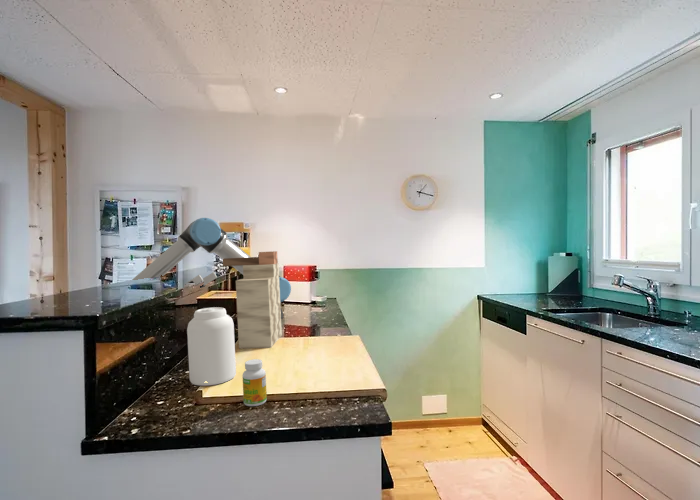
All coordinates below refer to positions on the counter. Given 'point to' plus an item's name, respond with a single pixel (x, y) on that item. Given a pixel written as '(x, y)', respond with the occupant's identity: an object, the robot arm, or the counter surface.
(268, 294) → the stand
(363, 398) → the counter surface
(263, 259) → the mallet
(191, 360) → the white jar
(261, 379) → the supplement bottle
